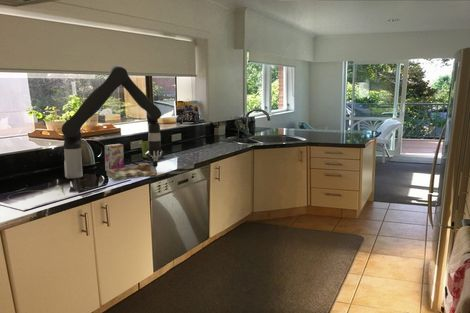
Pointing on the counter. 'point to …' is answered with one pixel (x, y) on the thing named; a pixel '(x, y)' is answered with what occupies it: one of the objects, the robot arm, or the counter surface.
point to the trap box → (128, 173)
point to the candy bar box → (114, 156)
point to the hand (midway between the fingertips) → (155, 166)
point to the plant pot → (145, 148)
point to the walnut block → (144, 166)
